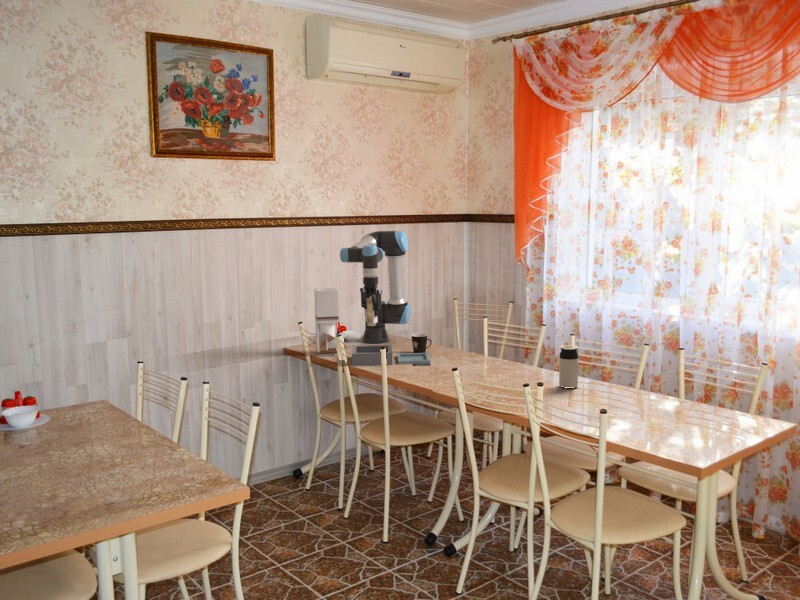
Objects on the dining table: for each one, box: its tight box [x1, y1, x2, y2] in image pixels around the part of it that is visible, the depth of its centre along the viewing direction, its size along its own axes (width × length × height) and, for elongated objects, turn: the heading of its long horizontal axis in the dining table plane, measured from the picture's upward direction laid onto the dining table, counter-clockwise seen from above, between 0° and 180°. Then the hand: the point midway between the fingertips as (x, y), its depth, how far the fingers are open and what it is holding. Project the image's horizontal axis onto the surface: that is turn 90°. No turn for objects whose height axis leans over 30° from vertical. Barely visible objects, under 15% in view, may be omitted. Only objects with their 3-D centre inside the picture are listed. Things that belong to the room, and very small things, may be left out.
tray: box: [396, 352, 431, 367], centre depth 385 cm, size 18×16×2 cm
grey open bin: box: [351, 344, 393, 367], centre depth 384 cm, size 20×20×7 cm
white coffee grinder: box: [313, 287, 339, 357], centre depth 405 cm, size 11×11×35 cm
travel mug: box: [558, 344, 579, 388], centre depth 330 cm, size 8×8×18 cm
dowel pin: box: [367, 296, 376, 326], centre depth 381 cm, size 4×4×14 cm
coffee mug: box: [411, 333, 432, 353], centre depth 402 cm, size 12×9×10 cm
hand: (371, 322), depth 381 cm, fingers closed on dowel pin, 4 cm apart
